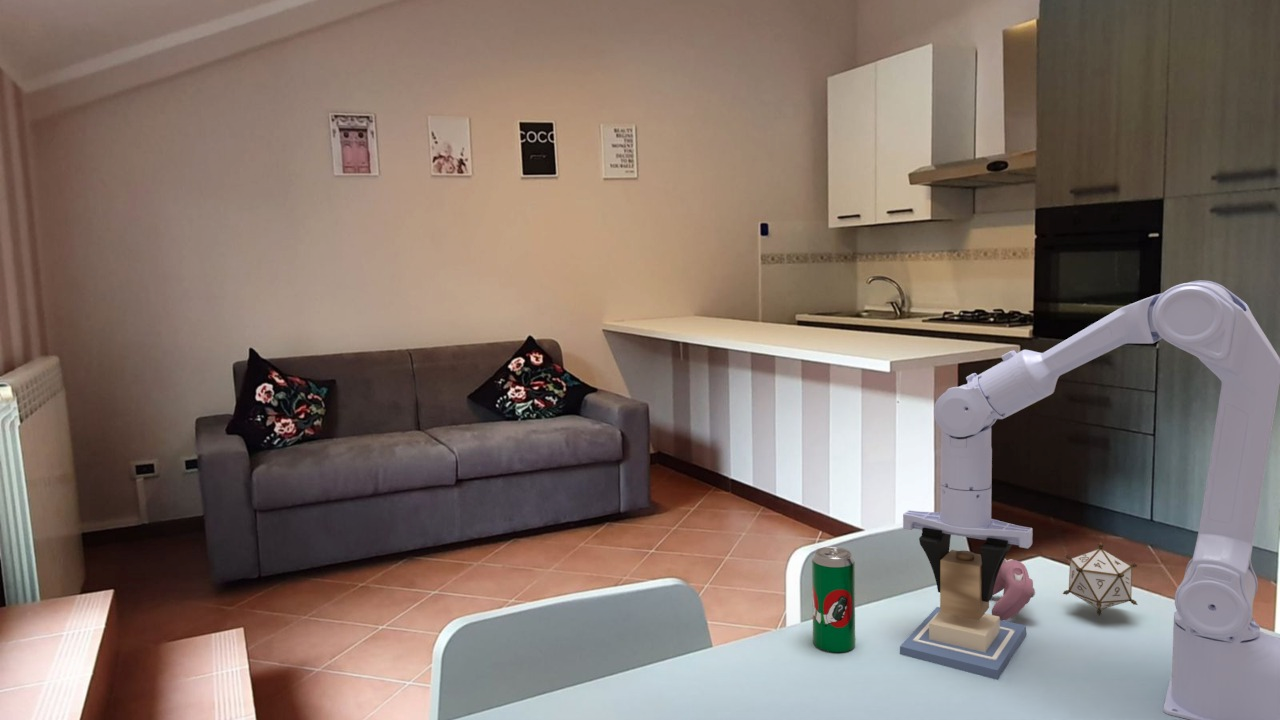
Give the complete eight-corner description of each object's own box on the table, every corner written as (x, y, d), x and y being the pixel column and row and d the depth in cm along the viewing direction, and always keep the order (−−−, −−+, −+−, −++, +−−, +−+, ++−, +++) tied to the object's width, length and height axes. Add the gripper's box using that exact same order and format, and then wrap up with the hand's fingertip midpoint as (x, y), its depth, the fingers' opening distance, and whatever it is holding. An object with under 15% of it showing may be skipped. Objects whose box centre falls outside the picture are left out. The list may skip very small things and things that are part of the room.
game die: (1137, 635, 102) (1139, 556, 101) (1060, 622, 107) (1061, 547, 106) (1136, 609, 110) (1138, 535, 109) (1064, 598, 114) (1066, 527, 113)
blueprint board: (1026, 634, 104) (1026, 610, 103) (997, 680, 92) (997, 653, 92) (936, 615, 110) (936, 592, 110) (899, 655, 99) (899, 630, 99)
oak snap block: (989, 607, 101) (989, 551, 101) (979, 620, 98) (979, 562, 97) (951, 600, 104) (951, 544, 103) (940, 612, 100) (940, 555, 100)
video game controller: (1027, 632, 106) (1044, 581, 105) (990, 620, 107) (1007, 570, 105) (1009, 601, 115) (1024, 555, 114) (975, 591, 116) (991, 545, 115)
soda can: (863, 647, 102) (863, 552, 100) (838, 660, 98) (837, 562, 97) (829, 634, 105) (828, 542, 104) (804, 646, 102) (803, 552, 101)
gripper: (1038, 485, 98) (1037, 595, 99) (916, 470, 107) (916, 573, 108) (1025, 499, 92) (1023, 616, 94) (897, 482, 101) (897, 590, 103)
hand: (964, 594), depth 101 cm, fingers closed on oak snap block, 4 cm apart
